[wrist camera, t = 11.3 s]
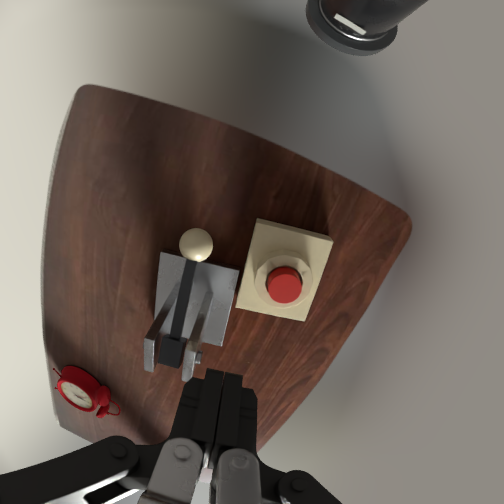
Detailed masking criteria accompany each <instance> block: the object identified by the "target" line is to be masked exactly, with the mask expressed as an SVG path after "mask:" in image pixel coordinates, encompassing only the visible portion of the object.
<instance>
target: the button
mask: <svg viewBox="0 0 504 504" xmlns="http://www.w3.org/2000/svg"><path fill="white" fill-rule="evenodd" d="M301 291H302V285H301V281H300V278H299V275H298V273H297V272H296V271H295V270H293V269H292V268H289V267H280V268H277V269H275V270H274V271H273V272H272V273H271V274H270V275H269V278H268V292H269V295H270V297H271V298H272V299H273V300H274V301H276V302H278V303H281V304H287V303H291V302H293V301H295V300H296V299H297V298H298V297H299V296H300V294H301Z"/></svg>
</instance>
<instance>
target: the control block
mask: <svg viewBox="0 0 504 504" xmlns="http://www.w3.org/2000/svg"><path fill="white" fill-rule="evenodd" d="M332 244H333V241H332V239H331V238H330V237H329V236H327V235H323V234H319V233H315V232H312V231H308V230H304V229H300V228H296V227H292V226H288V225H284V224H280V223H276V222H272V221H268V220H263V219H259V218H257V219H256V223H255V227H254V231H253V235H252V239H251V243H250V247H249V251H248V255H247V259H246V263H245V267H244V271H243V275H242V280H241V284H240V288H239V292H238V296H237V300H236V307H238V308H242V309H247V310H251V311H256V312H261V313H265V314H270V315H275V316H280V317H285V318H290V319H295V320H301V321H305V319H306V316H307V314H308V311H309V308H310V306H311V303H312V301H313V298H314V295H315V293H316V290H317V287H318V284H319V282H320V279H321V276H322V273H323V270H324V267H325V265H326V262H327V259H328V256H329V253H330V250H331V247H332ZM280 267H289V268H292V269H293V270H295V271H296V272H297V273H298V275H299V278H300V281H301V285H302V291H301V294H300V296H299V297H298V298H297V299H296V300H295V301H293V302H291V303H287V304H281V303H278V302H276V301H274V300H273V299H272V298H271V297H270V295H269V292H268V278H269V275H270V274H271V273H272V272H273V271H274V270H275V269H277V268H280Z"/></svg>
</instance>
